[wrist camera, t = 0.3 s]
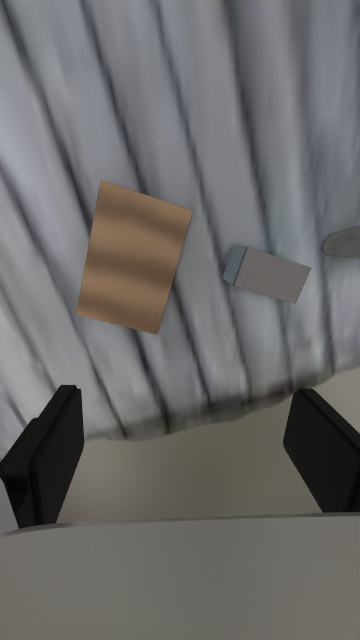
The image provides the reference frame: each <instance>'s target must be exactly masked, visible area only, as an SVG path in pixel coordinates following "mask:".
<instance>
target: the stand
mask: <svg viewBox="0 0 360 640" xmlns="http://www.w3.org/2000/svg"><path fill="white" fill-rule="evenodd" d="M192 212H193V210H190V209H187V208H184V207H180V206H177V205H174V204H171V203H168V202H165V201H162V200H159V199H156V198H153V197H150V196H147V195H144V194H141V193H138V192H135V191H132V190H129V189H126V188H123V187H120V186H117V185H114V184H111V183H108V182H105V181H102V180H101V182H100V187H99V193H98V198H97V203H96V209H95V214H94V220H93V225H92V231H91V236H90V242H89V247H88V252H87V258H86V263H85V269H84V274H83V280H82V285H81V290H80V296H79V301H78V307H77V312H76V315H80V316H84V317H88V318H92V319H96V320H100V321H104V322H108V323H112V324H116V325H120V326H124V327H128V328H132V329H136V330H140V331H144V332H148V333H152V334H158V330H159V327H160V324H161V320H162V317H163V313H164V310H165V306H166V303H167V299H168V296H169V292H170V289H171V285H172V282H173V278H174V275H175V271H176V268H177V264H178V261H179V257H180V254H181V250H182V247H183V243H184V240H185V236H186V233H187V229H188V226H189V222H190V219H191V215H192Z"/></svg>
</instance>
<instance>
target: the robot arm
mask: <svg viewBox="0 0 360 640" xmlns="http://www.w3.org/2000/svg"><path fill="white" fill-rule="evenodd" d="M283 445H284V448H285V450H286V452H287V453H288V455H289V457H290V458H291V460H292V462H293V463H294V465H295V467H296V468H297V470H298V472H299V473H300V475H301V477H302V478H303V480H304V482H305V483H306V485H307V487H308V488H309V490H310V492H311V493H312V495H313V497H314V498H315V500H316V502H317V503H318V505H319V507H320V508H321V510H322V512H323V513H293V514H292V513H291V514H256V515H225V516H193V517H167V518H141V519H115V520H98V521H81V522H64V523H56V521H57V518H58V515H59V512H60V510H61V508H62V505H63V502H64V499H65V497H66V494H67V491H68V489H69V486H70V483H71V481H72V478H73V475H74V473H75V470H76V467H77V464H78V462H79V459H80V456H81V454H82V451H83V447H84V430H83V413H82V396H81V389H77V387H76V385H61V386H60V387H59V388H58V390H57V391H56V393H55V394H54V395H53V397H52V398H51V400H50V401H49V403H48V404H47V406H46V407H45V408H44V410H43V411H42V413H41V414H40V416H39V417H38V418H34V419H32V420H31V421H30V422H29V424H28V425H27V427H26V428H25V429H24V431H23V432H22V434H21V435H20V436H19V438H18V439H17V440H16V442H15V443H14V445H13V446H12V447H11V449H10V450H9V451H8V453H7V454H6V456H5V457H4V458H3V460H2V461H1V463H0V640H360V433H358V432H357V431H356V430H355V429H354V428H353V427H352V426H351V425H350V424H349V423H348V422H347V421H346V420H345V419H344V418H343V417H342V416H341V415H340V414H339V413H338V412H337V411H336V410H335V409H334V408H332V407H331V406H330V405H329V404H328V403H327V402H326V401H325V400H324V399H323V398H322V397H321V396H320V395H319V394H318V393H317V392H316V391H315V390H314V389H308V388H300V389H298V390H297V392H294V394H293V398H292V403H291V408H290V412H289V416H288V421H287V425H286V430H285V434H284V439H283Z"/></svg>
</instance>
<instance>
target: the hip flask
mask: <svg viewBox="0 0 360 640" xmlns="http://www.w3.org/2000/svg"><path fill="white" fill-rule="evenodd" d="M322 248H323V251H324V253H325V254H326V255H330V256H340V257H350V258H360V226H358V227H354V228H350V229H346V230H343V231H340V232H337V233H334V234H331V235H329V236H328V237H326V238H325V240H324V242H323V245H322Z"/></svg>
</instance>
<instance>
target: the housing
mask: <svg viewBox="0 0 360 640" xmlns="http://www.w3.org/2000/svg"><path fill="white" fill-rule="evenodd" d="M310 270H311V267H308V266H305V265H302V264H298V263H295V262H292V261H289V260H286V259H283V258H280V257H277V256H273V255H270V254H267V253H264V252H261V251H258V250H255V249H252V248H249V247H239V246H233V247H232V250H231V253H230V256H229V259H228V262H227V265H226V268H225V271H224V274H223V276H222V278H223V279H224V280H226V281H227V282H229V283H230V284H232V285H234V286H236V287H240V288H243V289H247V290H250V291H253V292H257V293H260V294H264V295H267V296H271V297H274V298H277V299H281V300H284V301H288V302H291V303H295V304H296V302H297V300H298V297H299V295H300V293H301V291H302V288H303V286H304V284H305V281H306V279H307V277H308V275H309V272H310Z"/></svg>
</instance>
